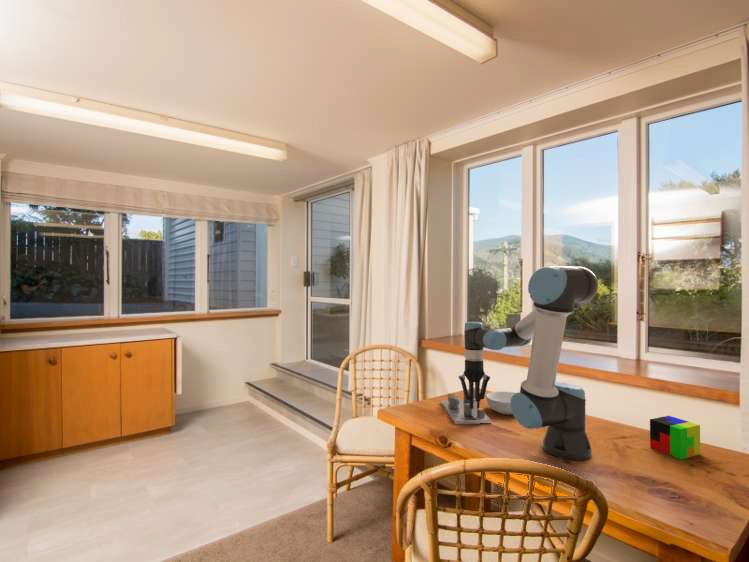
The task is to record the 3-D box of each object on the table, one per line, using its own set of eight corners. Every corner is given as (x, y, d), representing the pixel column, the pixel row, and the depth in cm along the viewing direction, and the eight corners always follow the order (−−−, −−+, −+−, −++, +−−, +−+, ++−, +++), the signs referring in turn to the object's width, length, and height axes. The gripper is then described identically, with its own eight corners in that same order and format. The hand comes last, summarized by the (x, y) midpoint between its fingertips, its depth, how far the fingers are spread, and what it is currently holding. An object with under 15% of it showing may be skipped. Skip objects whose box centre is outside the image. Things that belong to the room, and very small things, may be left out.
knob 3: (461, 414, 168) (461, 404, 168) (469, 412, 171) (468, 402, 171) (478, 421, 160) (478, 410, 160) (486, 419, 162) (486, 408, 162)
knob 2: (470, 403, 184) (470, 393, 184) (461, 401, 187) (461, 391, 187) (480, 398, 191) (480, 389, 191) (472, 396, 194) (471, 387, 194)
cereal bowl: (478, 409, 180) (478, 393, 180) (506, 404, 187) (506, 389, 187) (505, 420, 165) (505, 404, 165) (534, 414, 172) (533, 398, 172)
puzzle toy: (668, 443, 141) (668, 415, 141) (700, 454, 132) (699, 424, 132) (650, 447, 138) (649, 419, 138) (681, 459, 128) (680, 429, 128)
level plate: (491, 423, 162) (490, 418, 162) (455, 424, 161) (455, 419, 161) (471, 402, 190) (471, 398, 190) (441, 403, 189) (441, 398, 189)
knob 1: (460, 408, 175) (460, 399, 175) (450, 409, 175) (450, 399, 175) (455, 402, 185) (454, 392, 185) (445, 402, 185) (445, 393, 185)
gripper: (486, 357, 166) (487, 412, 165) (456, 357, 165) (456, 413, 165) (492, 360, 158) (493, 419, 158) (460, 361, 158) (461, 419, 157)
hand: (474, 416), depth 161 cm, fingers closed
